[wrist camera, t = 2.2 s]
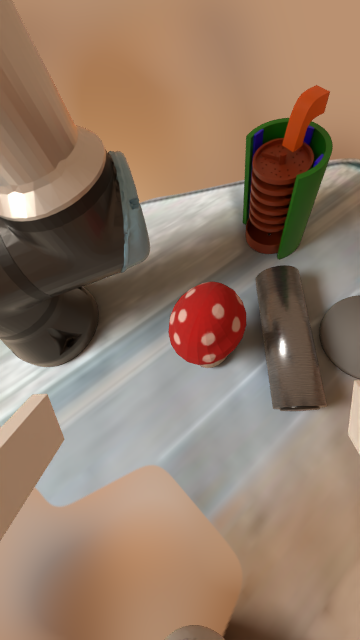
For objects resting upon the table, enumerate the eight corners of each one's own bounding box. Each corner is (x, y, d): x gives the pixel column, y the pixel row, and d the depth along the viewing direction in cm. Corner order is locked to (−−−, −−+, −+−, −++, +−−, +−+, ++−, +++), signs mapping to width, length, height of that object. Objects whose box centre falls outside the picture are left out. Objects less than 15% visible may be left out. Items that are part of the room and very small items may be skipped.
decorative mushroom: (225, 391, 38) (221, 369, 24) (171, 364, 41) (141, 330, 27) (253, 330, 41) (265, 277, 27) (201, 308, 43) (187, 251, 30)
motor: (230, 235, 48) (230, 112, 29) (263, 202, 49) (283, 65, 31) (279, 266, 44) (314, 147, 26) (314, 229, 45) (370, 92, 27)
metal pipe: (270, 412, 36) (277, 408, 31) (253, 287, 43) (257, 266, 38) (318, 410, 35) (335, 406, 30) (294, 283, 42) (303, 261, 37)
